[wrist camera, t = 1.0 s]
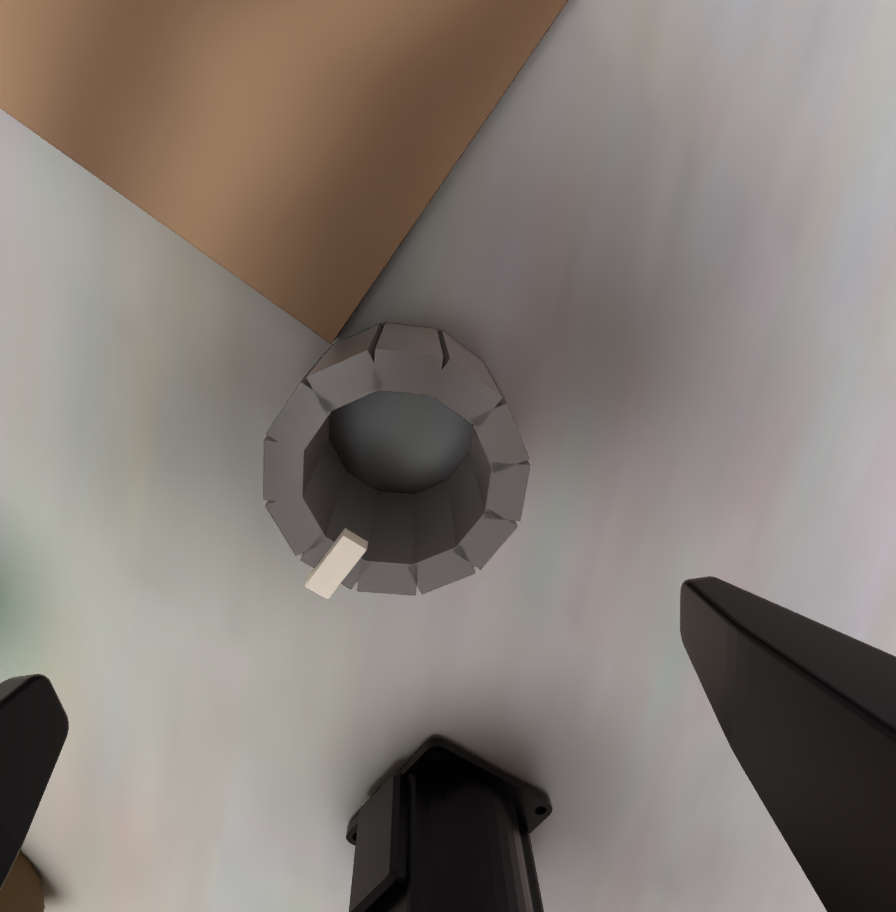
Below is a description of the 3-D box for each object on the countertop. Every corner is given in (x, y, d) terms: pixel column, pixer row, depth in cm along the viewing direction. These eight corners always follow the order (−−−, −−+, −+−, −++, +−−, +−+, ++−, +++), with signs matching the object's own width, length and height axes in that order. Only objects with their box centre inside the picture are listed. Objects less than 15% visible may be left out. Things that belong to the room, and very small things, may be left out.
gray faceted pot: (542, 406, 18) (584, 460, 14) (418, 557, 20) (418, 650, 15) (374, 280, 17) (358, 294, 12) (255, 457, 18) (201, 528, 14)
